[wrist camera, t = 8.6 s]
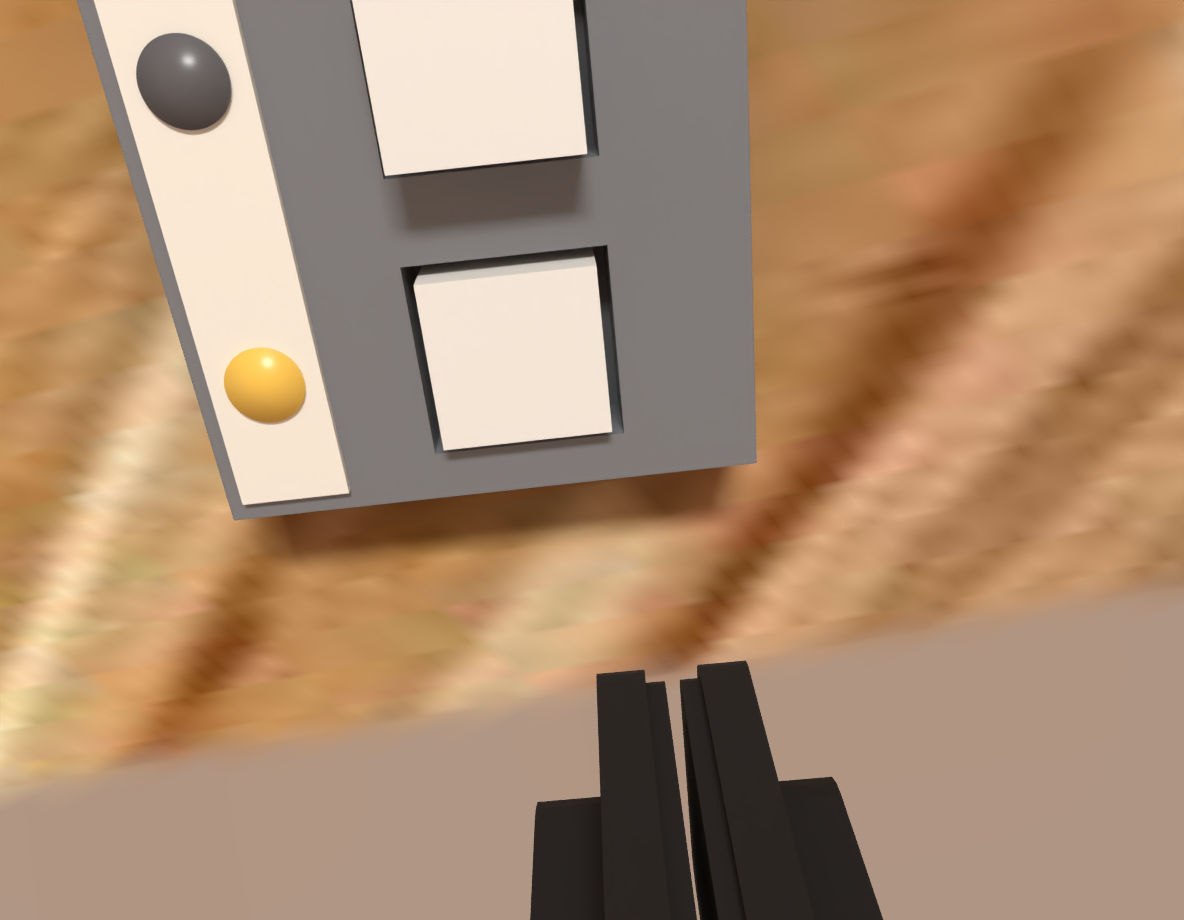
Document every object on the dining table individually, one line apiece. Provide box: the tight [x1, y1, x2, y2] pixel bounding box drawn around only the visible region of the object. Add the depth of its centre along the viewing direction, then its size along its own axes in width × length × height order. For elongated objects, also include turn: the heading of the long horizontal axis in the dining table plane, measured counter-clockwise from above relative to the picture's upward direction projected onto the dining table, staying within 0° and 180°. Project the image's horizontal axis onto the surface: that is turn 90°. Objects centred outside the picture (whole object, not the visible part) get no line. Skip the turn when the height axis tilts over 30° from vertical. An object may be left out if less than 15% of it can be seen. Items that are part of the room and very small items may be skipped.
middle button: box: [352, 0, 587, 176], centre depth 19 cm, size 4×4×2 cm
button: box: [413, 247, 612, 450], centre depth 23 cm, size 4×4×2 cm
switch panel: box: [77, 0, 757, 520], centre depth 20 cm, size 13×20×3 cm, turn 5°
